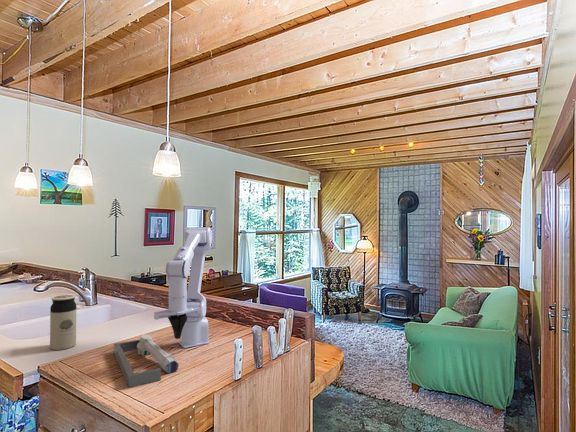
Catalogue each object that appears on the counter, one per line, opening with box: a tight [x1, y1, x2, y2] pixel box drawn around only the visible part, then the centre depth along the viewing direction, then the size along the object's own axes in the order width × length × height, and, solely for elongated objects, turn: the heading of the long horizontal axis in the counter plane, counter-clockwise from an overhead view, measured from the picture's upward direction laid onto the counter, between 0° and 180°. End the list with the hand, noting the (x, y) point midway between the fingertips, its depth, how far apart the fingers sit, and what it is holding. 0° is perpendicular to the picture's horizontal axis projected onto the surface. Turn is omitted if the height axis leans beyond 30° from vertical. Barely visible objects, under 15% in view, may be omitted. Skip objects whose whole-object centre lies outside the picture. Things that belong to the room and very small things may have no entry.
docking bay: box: [113, 339, 162, 389], centre depth 112 cm, size 8×31×3 cm, turn 33°
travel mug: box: [49, 294, 77, 351], centre depth 129 cm, size 8×8×18 cm
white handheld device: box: [137, 333, 180, 375], centre depth 116 cm, size 5×7×25 cm
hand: (177, 338), depth 117 cm, fingers closed
